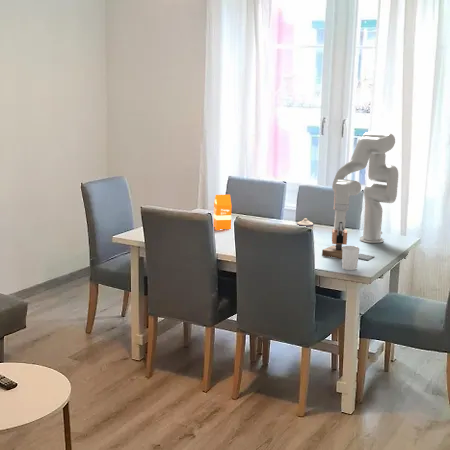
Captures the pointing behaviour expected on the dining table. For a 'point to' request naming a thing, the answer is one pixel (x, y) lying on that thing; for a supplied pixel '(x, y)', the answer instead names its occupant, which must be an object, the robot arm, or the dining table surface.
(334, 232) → the peach cube
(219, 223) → the orange juice
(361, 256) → the coaster
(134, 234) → the dining table surface
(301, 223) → the teacup with lid
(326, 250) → the post base
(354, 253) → the white cup
